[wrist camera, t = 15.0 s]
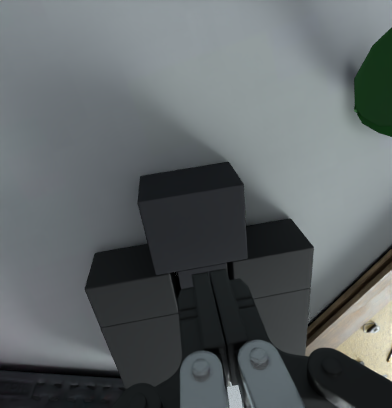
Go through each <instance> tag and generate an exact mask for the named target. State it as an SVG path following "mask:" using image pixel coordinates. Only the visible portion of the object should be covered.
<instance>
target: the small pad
mask: <svg viewBox="0 0 392 408" xmlns="http://www.w3.org/2000/svg"><path fill="white" fill-rule="evenodd" d="M138 206H139V210H140V214H141V218H142V222H143V226H144V230H145V234H146V238H147V242H148V246H149V250H150V254H151V258H152V262H153V266H154V270H155V274H156V275H160V274H166V273H171V272H178V277H179V282H180V287H181V289H185V288H190V287H193V281H192V274H197V273H203V272H208V274H209V271H213V270H218V269H224V268H226V271H227V263H226V262H232V261H237V260H243V259H247V258H248V256H247V237H246V218H245V199H244V184H243V183H242V181H241V180H240V178H239V177H238V175H237V174H236V172H235V170H234V169H233V167H232V166H231V164H230V163H229V162H225V163H219V164H213V165H207V166H201V167H195V168H189V169H183V170H177V171H171V172H164V173H158V174H152V175H146V176H141V177H140V185H139V194H138ZM227 274H228V272H227ZM209 278H210V276H209Z"/></svg>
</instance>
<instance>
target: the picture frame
mask: <svg viewBox="0 0 392 408" xmlns="http://www.w3.org/2000/svg"><path fill="white" fill-rule="evenodd" d="M324 347H326V348H332V349H335V350H338V351H340V352H342V353H343V354H345V355H347V356H349V357H350V358H352V359H354V360H356V361H357V362H359V363H361V364H363V365H364V366H366V367H368V368H370V369H371V370H373V371H375V372H377V373H378V374H380V375H382V376H383V377H385V378H387V379H389V380H390V381H392V249H391V250H390V251H389V252H388V253H387V254H385V255H384V256H383V257H382V258H381V259H380V260H379V261H378V262H377V263H376V264H375V265H374V266H373V267H372V268H371V269H370V270H368V271H367V272H366V273H365V274H364V275H363V276H362V277H361V278H360V279H359V280H358V281H357V282H356V283H355V284H354V285H353V286H351V287H350V288H349V289H348V290H347V291H346V292H345V293H344V294H343V295H342V296H341V297H340V298H339V299H338V300H337V301H336V302H334V303H333V304H332V305H331V306H330V307H329V308H328V309H327V310H326V311H325V312H324V313H323V314H322V315H321V316H320V317H319V318H317V319H316V320H315V321H314V322H313V323H312V324H311V325H310V326H309V327H308V328H307V340H306V352H305V356H310V354H311V353H312V352H313V351H314V350H316V349H318V348H324Z"/></svg>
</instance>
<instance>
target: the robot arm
mask: <svg viewBox="0 0 392 408" xmlns="http://www.w3.org/2000/svg"><path fill="white" fill-rule="evenodd" d="M209 276H210V278H209ZM192 281H193V287H190V288H185V289H181V291H180V293H179V296H178V298H177V303H178V314H179V325H180V336H181V348H182V361H181V364H180V366H179V368H178V370H177V371H176V372H175V373H174V375H173V376H171V377H170V378H169V379H167V380H166V381H164V382H162V383H160V384H159V385H157V386H155V387H154V386H152V385H151V384H148V383H138V384H134V385H132V386H130V387H129V388H128V389H126V390H125V391H124V392H123V393H122V395H121V396H120V397H119V399H118V400H117V401H116V403H115V404H114V405H113V407H112V408H229V400H228V392H227V387H230V379H231V383H232V386H234V385H239V390H240V394H241V398H242V407H243V408H392V381H390V380H389V379H387V378H385V377H383V376H382V375H380V374H378V373H377V372H375V371H373V370H371V369H370V368H368V367H366V366H364V365H363V364H361V363H359V362H357V361H356V360H354V359H352V358H350V357H349V356H347V355H345V354H343V353H342V352H340V351H338V350H335V349H332V348H326V347H324V348H318V349H316V350H314V351H313V352H312V353H311V354H310V356H302V355H294V354H289V353H286V352H283V351H281V350H280V349H278V348H277V347H276V346H274V345H273V343H272V342H271V341H270V339H269V337H268V335H267V332H266V330H265V327H264V325H263V322H262V320H261V317H260V314H259V312H258V309H257V307H256V305H255V302H254V299H253V297H252V294H251V292H250V289H249V287H248V285H247V284H246V283H245V282H244V281H243V280H241V279H240V278H238V279H233V280H229V277H228V274H227V271H226V268H224V269H218V270H213V271H209V274H208V272H203V273H197V274H192ZM228 370H229V371H228ZM229 374H230V379H229Z"/></svg>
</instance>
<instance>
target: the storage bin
mask: <svg viewBox="0 0 392 408" xmlns="http://www.w3.org/2000/svg"><path fill="white" fill-rule="evenodd" d="M125 390H126V388H125V386H124V384H123V381H122V379H121V378H106V377H91V376H77V375H61V374H47V373H43V374H42V373H31V372H16V371H0V408H112V407H113V405H114V404H115V403H116V401H117V400H118V399H119V397H120V396H121V395H122V393H123V392H124V391H125Z"/></svg>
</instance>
